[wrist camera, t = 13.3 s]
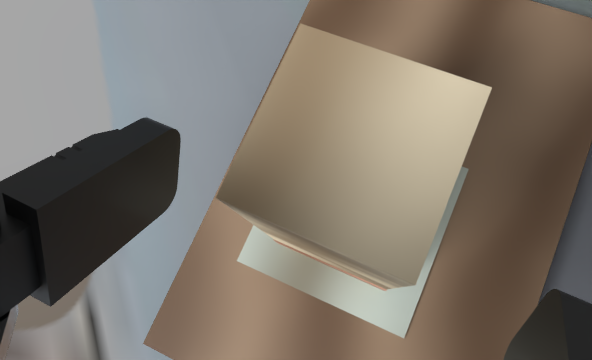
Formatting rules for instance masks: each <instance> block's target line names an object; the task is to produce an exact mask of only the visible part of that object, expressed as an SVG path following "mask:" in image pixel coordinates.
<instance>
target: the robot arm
mask: <svg viewBox="0 0 592 360" xmlns="http://www.w3.org/2000/svg"><path fill="white" fill-rule="evenodd" d="M179 155H180V134H179V132H178V131H177V130H176V129H173V128H171V127H169V126H166V125H164V124H161V123H159V122H157V121H154V120H152V119H149V118H142V119H140V120H138V121H136V122H134V123H132V124H130V125H128V126H126V127H124V128H123V129H121V130H118V129H116V130H111V131H107V132H102V133H98V134H94V135H91V136H89V137H87V138H85V139H83V140H81V141H79V142H77V143H75V144H73V146H72V147H71V148H70V147H68V148H65V149H64V150H61V151H59V152H57V153H56V155H55V156H50V157H48V158H46V159H44V160H42V161H40V162H38V163H36V164H34V165H32V166H30V167H28V168H26V169H24V170H22V171H20V172H18V173H16V174H14V175H12V176H10V177H8V178H6V179H4V180H2V181H0V360H5V359H6V356H7V352H8V348H9V345H10V341H11V338H12V334H13V331H14V327H15V323H16V320H17V316H18V305H17V304H19V303H20V302H21V301H22V300H24V299H25V298H26V297H28V296H29V295H31V296H32V297H34V298H36V299H38V300H40V301H41V302H43V303H45V304H47V305H49V306H52V305H53V304H54V303H56V302H57V301H58V300H59V299H60V298H62V297H63V296H64V295H65V294H66V293H68V292H69V291H70V290H71V289H72V288H74V287H75V286H76V285H77V284H78V283H79V282H81V281H82V280H83V279H84V278H86V277H87V276H88V275H89V274H90V273H92V272H93V271H94V270H95V269H96V268H98V267H99V266H100V265H101V264H102V263H104V262H105V261H106V260H107V259H108V258H110V257H111V256H112V255H113V254H114V253H116V252H117V251H118V250H119V249H121V248H122V247H123V246H124V245H125V244H127V243H128V242H129V241H130V240H131V239H133V238H134V237H135V236H136V235H137V234H139V233H140V232H141V231H142V230H143V229H145V228H146V227H147V226H148V225H149V224H151V223H152V222H153V221H154V220H155V219H157V218H158V217H159V216H160V215H161V214H163V213H164V212H165V211H166V210H167V208H168V207H169V206H170V204H171V203H172V201H173V199H174V196H175V194H176V190H177V182H178V168H179ZM503 360H592V304H591V303H588V302H586V301H583V300H581V299H579V298H576V297H574V296H571V295H569V294H567V293H564V292H562V291H559V290H557V289H553V290H551V291H549V292H548V293H547V294H546V295H545V297H544V298H543V299H542V301H541V302H540V303H539V305H538V306H537V307H536V308H535V310H534V311H533V312H532V314H531V315H530V316H529V318H528V319H527V320H526V322H525V323H524V324H523V326H522V327H521V328H520V330H519V331H518V332H517V334H516V335H515V336H514V338H513V339H512V340H511V342H510V344H509V346H508V348H507V350H506V353H505V356H504V359H503Z"/></svg>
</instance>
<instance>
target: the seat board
mask: <svg viewBox="0 0 592 360" xmlns="http://www.w3.org/2000/svg"><path fill="white" fill-rule="evenodd" d="M300 23H301V24H304V25H307V26H310V27H313V28H316V29H319V30H322V31H325V32H328V33H331V34H334V35H337V36H340V37H342V38H345V39H348V40H351V41H354V42H357V43H360V44H363V45H366V46H369V47H372V48H375V49H378V50H381V51H384V52H387V53H390V54H393V55H396V56H399V57H402V58H405V59H408V60H411V61H414V62H417V63H420V64H423V65H426V66H429V67H432V68H435V69H438V70H441V71H444V72H447V73H450V74H453V75H456V76H459V77H462V78H465V79H468V80H471V81H474V82H477V83H480V84H483V85H486V86H489V87H492V89H491V92H490V94H489V97H488V99H487V102H486V105H485V107H484V110H483V112H482V115H481V118H480V120H479V123H478V125H477V128H476V130H475V133H474V136H473V138H472V141H471V143H470V146H469V149H468V151H467V154H466V156H465V159H464V161H463V164H462V167H461V169H460V172H459V174H458V177H457V180H456V182H455V185H454V187H453V190H452V192H451V195H450V198H449V200H448V203H447V205H446V208H445V211H444V213H443V216H442V218H441V221H440V223H439V226H438V229H437V231H436V234H435V236H434V239H433V242H432V244H431V247H430V249H429V252H428V254H427V257H426V260H425V262H424V265H423V267H422V270H421V273H420V275H419V278H418V280H417V283H416V285H414V286H407V287H400V288H393V289H387V291H383V290H381V289H379V288H376V287H374V286H372V285H370V284H367V283H365V282H363V281H361V280H358V279H356V278H354V277H352V276H349V275H347V274H345V273H343V272H341V271H338V270H336V269H334V268H332V267H329V266H327V265H325V264H323V263H320V262H318V261H316V260H314V259H311V258H309V257H307V256H305V255H302V254H300V253H298V252H296V251H294V250H291V249H289V248H287V247H285V246H282V245H280V244H278V243H277V242H275V241H274V240H273V238H271V237H270V236H268V235H267V234H266V233H264V232H263V231H261V230H260V229H259V228H257V227H256V226H254V225H253V224H252V223H250V222H249V221H247V220H246V219H245V218H243V217H242V216H240V215H239V214H238V213H236V212H235V211H233V210H232V209H231V208H229V207H228V206H226V205H225V204H224V203H222V202H221V201H219V200H218V199H217V198H216V196H217V194H218V192H219V190H220V188H221V186H222V184H223V182H224V180H225V178H226V175H227V173H228V171H229V169H230V167H231V165H232V163H233V161H234V159H235V157H236V155H237V153H238V151H239V149H240V147H241V145H242V143H243V141H244V138H245V136H246V134H247V132H248V130H249V128H250V126H251V124H252V122H253V120H254V118H255V116H256V114H257V112H258V110H259V108H260V106H261V104H262V101H263V99H264V97H265V95H266V93H267V91H268V89H269V87H270V85H271V83H272V81H273V79H274V77H275V75H276V73H277V71H278V69H279V67H280V64H281V62H282V60H283V58H284V56H285V54H286V52H287V50H288V48H289V46H290V44H291V42H292V40H293V38H294V36H295V34H296V32H297V30H298V27H299V25H300ZM591 143H592V18H589V17H586V16H583V15H579V14H576V13H572V12H569V11H565V10H562V9H558V8H555V7H551V6H548V5H545V4H541V3H538V2H534V1H531V0H310V1H309V3H308V5H307V7H306V9H305V11H304V14H303V16H302V18H301V20H300V22H299V24H298V26H297V28H296V30H295V32H294V34H293V36H292V38H291V40H290V42H289V44H288V46H287V49H286V51H285V53H284V55H283V57H282V59H281V61H280V63H279V65H278V67H277V69H276V71H275V73H274V75H273V77H272V79H271V81H270V83H269V86H268V88H267V90H266V92H265V94H264V96H263V98H262V100H261V102H260V104H259V106H258V108H257V110H256V112H255V114H254V116H253V118H252V121H251V123H250V125H249V127H248V129H247V131H246V133H245V135H244V137H243V139H242V141H241V143H240V145H239V147H238V149H237V151H236V153H235V155H234V158H233V160H232V162H231V164H230V166H229V168H228V170H227V172H226V174H225V176H224V178H223V180H222V182H221V184H220V186H219V188H218V190H217V193H216V195H215V197H214V199H213V201H212V203H211V205H210V207H209V209H208V211H207V213H206V215H205V217H204V219H203V221H202V223H201V225H200V227H199V230H198V232H197V234H196V236H195V238H194V240H193V242H192V244H191V246H190V248H189V250H188V252H187V254H186V256H185V258H184V260H183V262H182V265H181V267H180V269H179V271H178V273H177V275H176V277H175V279H174V281H173V283H172V285H171V287H170V289H169V291H168V293H167V295H166V297H165V299H164V302H163V304H162V306H161V308H160V310H159V312H158V314H157V316H156V318H155V320H154V322H153V324H152V326H151V328H150V330H149V332H148V334H147V337H146V339H145V341H144V343H143V344H145V345H147V346H149V347H151V348H153V349H154V350H156V351H158V352H160V353H162V354H164V355H166V356H168V357H169V358H171V359H173V360H503V359H504V356H505V353H506V350H507V348H508V346H509V344H510V342H511V340H512V339H513V338H514V336H515V335H516V334H517V332H518V331H519V330H520V328H521V327H522V326H523V324H524V323H525V322H526V320H527V319H528V318H529V316H530V315H531V314H532V312H533V311H534V310H535V308H536V307H537V305H538V302H539V299H540V296H541V293H542V290H543V287H544V284H545V281H546V278H547V275H548V272H549V269H550V266H551V263H552V260H553V257H554V254H555V251H556V248H557V245H558V242H559V239H560V236H561V233H562V230H563V227H564V224H565V221H566V218H567V215H568V212H569V209H570V206H571V203H572V200H573V197H574V194H575V191H576V188H577V185H578V182H579V179H580V176H581V173H582V170H583V167H584V164H585V161H586V158H587V155H588V152H589V149H590V146H591Z"/></svg>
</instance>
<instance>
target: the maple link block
mask: <svg viewBox="0 0 592 360" xmlns="http://www.w3.org/2000/svg"><path fill="white" fill-rule="evenodd" d="M491 89H492V87H489V86H486V85H483V84H480V83H477V82H474V81H471V80H468V79H465V78H462V77H459V76H456V75H453V74H450V73H447V72H444V71H441V70H438V69H435V68H432V67H429V66H426V65H423V64H420V63H417V62H414V61H411V60H408V59H405V58H402V57H399V56H396V55H393V54H390V53H387V52H384V51H381V50H378V49H375V48H372V47H369V46H366V45H363V44H360V43H357V42H354V41H351V40H348V39H345V38H342V37H340V36H337V35H334V34H331V33H328V32H325V31H322V30H319V29H316V28H313V27H310V26H307V25H304V24H301V23H300V25H299V27H298V30H297V32H296V34H295V36H294V38H293V40H292V42H291V44H290V46H289V48H288V50H287V52H286V54H285V56H284V58H283V60H282V62H281V64H280V67H279V69H278V71H277V73H276V75H275V77H274V79H273V81H272V83H271V85H270V87H269V89H268V91H267V93H266V95H265V97H264V99H263V101H262V104H261V106H260V108H259V110H258V112H257V114H256V116H255V118H254V120H253V122H252V124H251V126H250V128H249V130H248V132H247V134H246V136H245V138H244V141H243V143H242V145H241V147H240V149H239V151H238V153H237V155H236V157H235V159H234V161H233V163H232V165H231V167H230V169H229V171H228V173H227V175H226V178H225V180H224V182H223V184H222V186H221V188H220V190H219V192H218V194H217V196H216V198H217V199H218V200H219V201H221V202H222V203H224V204H225V205H226V206H228V207H229V208H231V209H232V210H233V211H235V212H236V213H238V214H239V215H240V216H242V217H243V218H245V219H246V220H247V221H249V222H250V223H252V224H253V225H254V226H256V227H257V228H259V229H260V230H261V231H263V232H264V233H266V234H267V235H268V236H270V237H271V238H273V240H274V241H275V242H277V243H278V244H280V245H282V246H285V247H287V248H289V249H291V250H294V251H296V252H298V253H300V254H302V255H305V256H307V257H309V258H311V259H314V260H316V261H318V262H320V263H323V264H325V265H327V266H329V267H332V268H334V269H336V270H338V271H341V272H343V273H345V274H347V275H349V276H352V277H354V278H356V279H358V280H361V281H363V282H365V283H367V284H370V285H372V286H374V287H376V288H379V289H381V290H383V291H387V289H393V288H400V287H407V286H414V285H416V283H417V280H418V278H419V275H420V273H421V270H422V267H423V265H424V262H425V260H426V257H427V254H428V252H429V249H430V247H431V244H432V242H433V239H434V236H435V234H436V231H437V229H438V226H439V223H440V221H441V218H442V216H443V213H444V211H445V208H446V205H447V203H448V200H449V198H450V195H451V192H452V190H453V187H454V185H455V182H456V180H457V177H458V174H459V172H460V169H461V167H462V164H463V161H464V159H465V156H466V154H467V151H468V149H469V146H470V143H471V141H472V138H473V136H474V133H475V130H476V128H477V125H478V123H479V120H480V118H481V115H482V112H483V110H484V107H485V105H486V102H487V99H488V97H489V94H490V92H491Z"/></svg>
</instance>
